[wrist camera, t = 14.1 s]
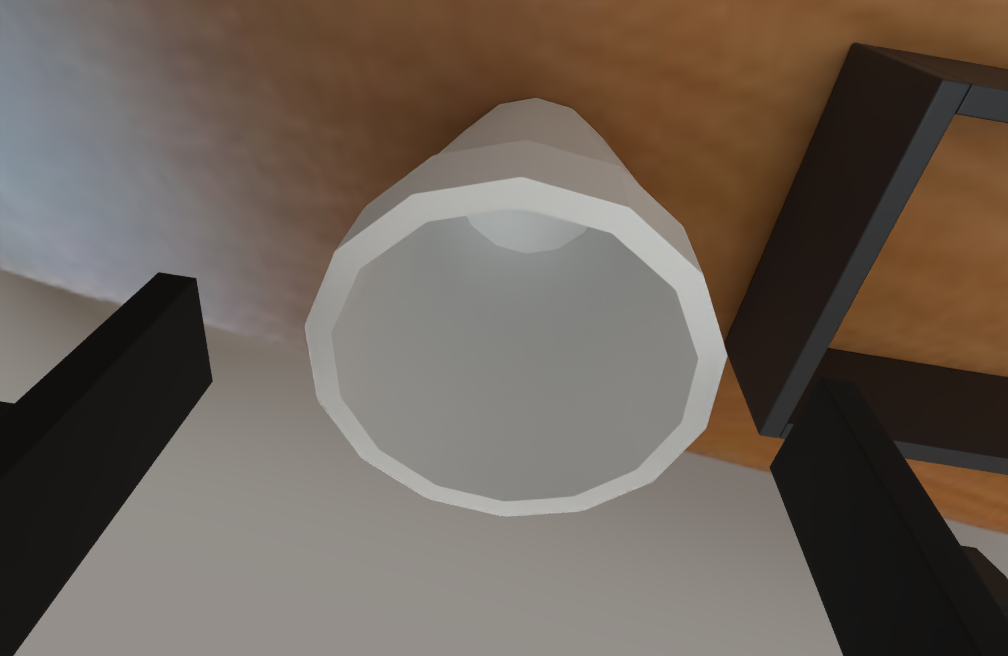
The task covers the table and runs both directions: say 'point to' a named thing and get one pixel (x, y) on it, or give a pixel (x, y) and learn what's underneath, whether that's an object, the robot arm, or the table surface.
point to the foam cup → (517, 323)
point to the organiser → (866, 262)
